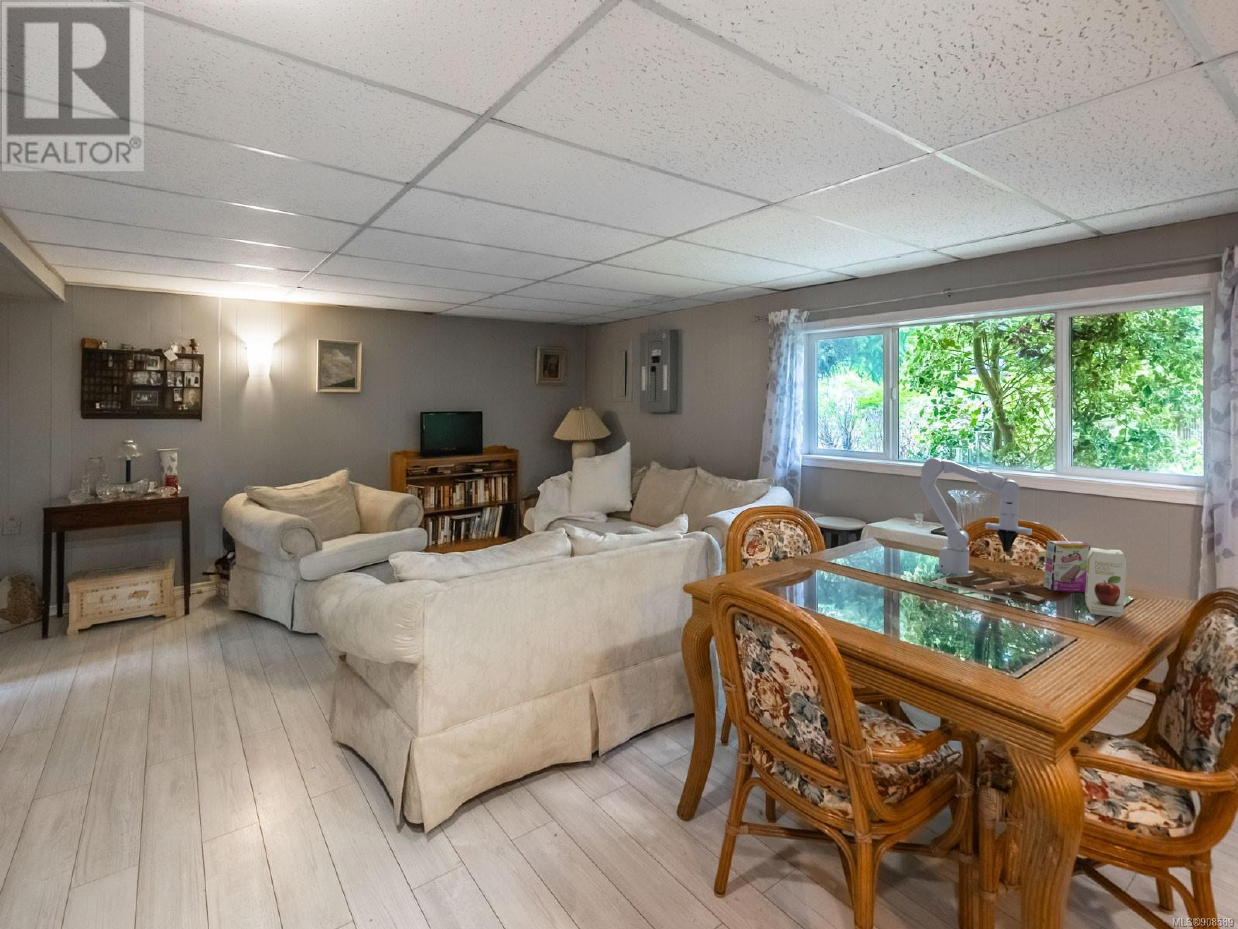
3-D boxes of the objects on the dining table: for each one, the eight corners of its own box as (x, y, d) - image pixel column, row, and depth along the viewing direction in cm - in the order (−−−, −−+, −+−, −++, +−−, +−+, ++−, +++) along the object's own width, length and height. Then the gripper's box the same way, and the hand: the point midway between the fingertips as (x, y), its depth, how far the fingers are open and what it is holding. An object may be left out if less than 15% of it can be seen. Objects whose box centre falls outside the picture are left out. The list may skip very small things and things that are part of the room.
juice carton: (1083, 607, 184) (1086, 546, 182) (1119, 611, 180) (1123, 549, 178) (1087, 614, 178) (1091, 551, 176) (1124, 619, 173) (1129, 554, 172)
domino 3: (976, 585, 201) (1000, 583, 194) (983, 583, 204) (1008, 580, 197) (977, 590, 201) (1002, 588, 194) (984, 587, 203) (1009, 585, 197)
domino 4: (992, 589, 196) (1018, 586, 190) (1000, 586, 199) (1025, 584, 193) (994, 594, 196) (1020, 591, 190) (1001, 591, 199) (1027, 589, 192)
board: (930, 583, 211) (930, 581, 211) (947, 578, 217) (947, 576, 217) (1007, 601, 190) (1008, 600, 190) (1024, 595, 196) (1024, 594, 196)
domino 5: (1009, 592, 192) (1037, 600, 186) (1017, 590, 195) (1045, 598, 188) (1009, 597, 192) (1037, 605, 186) (1016, 594, 195) (1044, 602, 188)
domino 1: (945, 578, 209) (968, 576, 203) (953, 576, 212) (975, 573, 205) (946, 583, 209) (969, 580, 202) (954, 580, 212) (977, 578, 205)
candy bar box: (1052, 592, 199) (1054, 543, 198) (1043, 587, 204) (1045, 540, 203) (1088, 592, 198) (1091, 544, 197) (1078, 588, 203) (1081, 540, 202)
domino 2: (960, 581, 205) (984, 579, 199) (967, 579, 208) (991, 577, 201) (961, 586, 205) (985, 584, 198) (969, 584, 208) (992, 582, 201)
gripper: (981, 512, 218) (980, 549, 219) (1026, 518, 205) (1024, 557, 207) (991, 510, 221) (989, 546, 223) (1035, 515, 209) (1033, 554, 211)
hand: (1007, 551), depth 215 cm, fingers closed
